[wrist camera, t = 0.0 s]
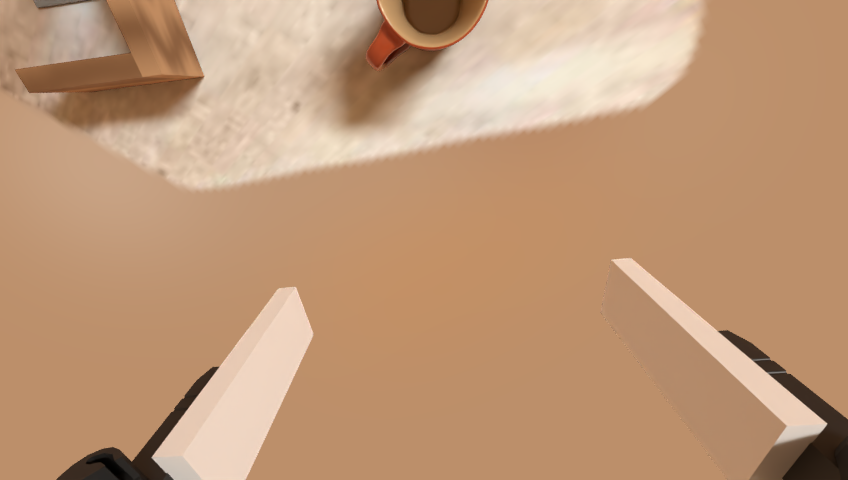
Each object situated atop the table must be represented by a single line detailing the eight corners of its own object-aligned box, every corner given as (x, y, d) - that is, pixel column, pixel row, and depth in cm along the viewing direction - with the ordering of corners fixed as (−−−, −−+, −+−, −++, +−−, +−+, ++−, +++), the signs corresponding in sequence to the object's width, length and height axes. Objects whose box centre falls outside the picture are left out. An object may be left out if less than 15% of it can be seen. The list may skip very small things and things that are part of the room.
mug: (433, -71, 28) (435, -147, 19) (491, 11, 31) (517, -21, 22) (352, 36, 32) (321, 16, 23) (410, 101, 35) (403, 105, 26)
